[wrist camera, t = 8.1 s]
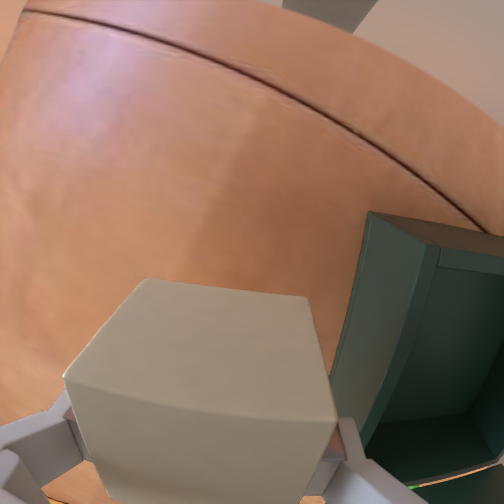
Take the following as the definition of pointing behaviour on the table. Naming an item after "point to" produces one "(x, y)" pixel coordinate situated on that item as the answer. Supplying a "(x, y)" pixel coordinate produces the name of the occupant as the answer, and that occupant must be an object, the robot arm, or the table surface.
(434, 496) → the lid
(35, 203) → the table surface
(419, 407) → the chest
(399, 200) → the table surface
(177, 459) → the cube
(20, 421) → the robot arm
